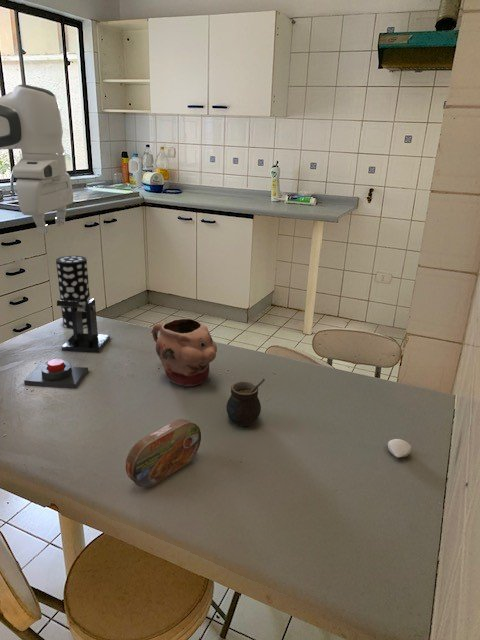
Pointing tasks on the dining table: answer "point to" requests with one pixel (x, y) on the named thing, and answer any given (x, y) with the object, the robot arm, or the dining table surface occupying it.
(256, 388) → the mate gourd
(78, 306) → the toast lever
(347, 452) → the dining table surface
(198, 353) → the character head mug
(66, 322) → the spotted tube
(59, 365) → the button
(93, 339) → the lever bracket
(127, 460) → the tin
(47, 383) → the button housing
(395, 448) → the white pebble
